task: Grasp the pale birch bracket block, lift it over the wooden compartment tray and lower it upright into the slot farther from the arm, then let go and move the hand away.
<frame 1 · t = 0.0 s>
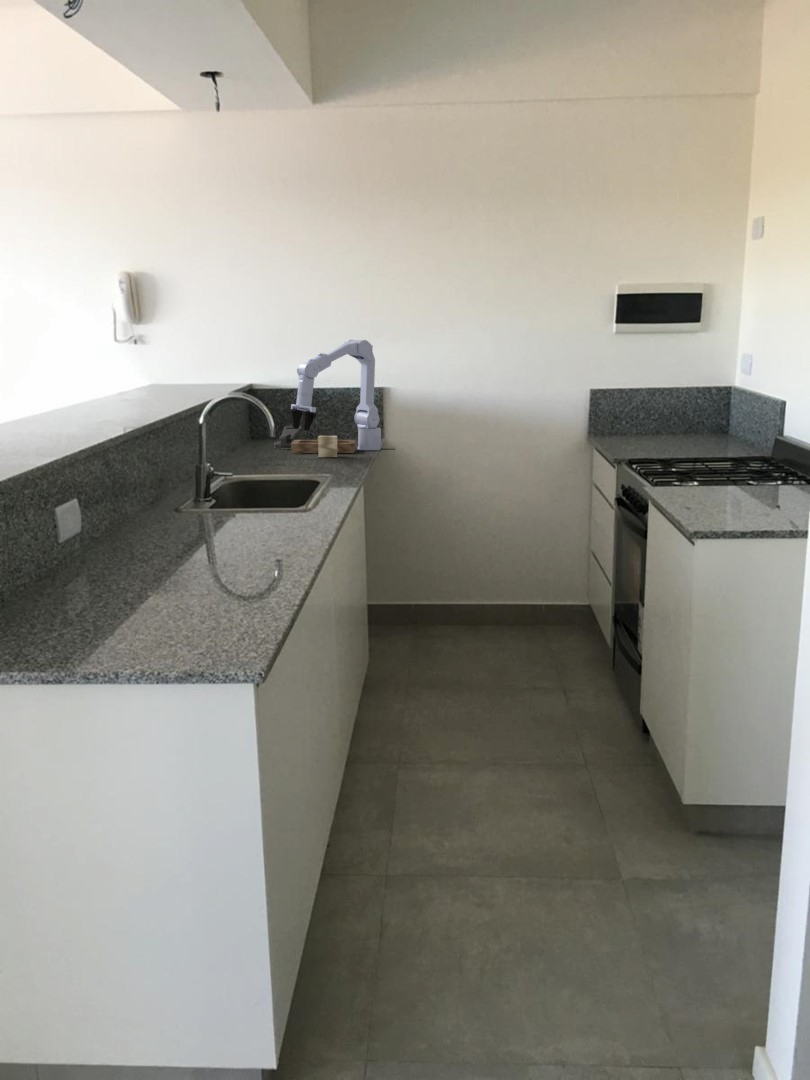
hand: (300, 429, 351), 11 cm above the worktop, tool pointing down, fingers open, 7 cm apart
wooden compartment tray: (323, 451, 366), on the worktop
dark grey angled stand: (288, 445, 385), on the worktop
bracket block: (328, 456, 354), on the worktop
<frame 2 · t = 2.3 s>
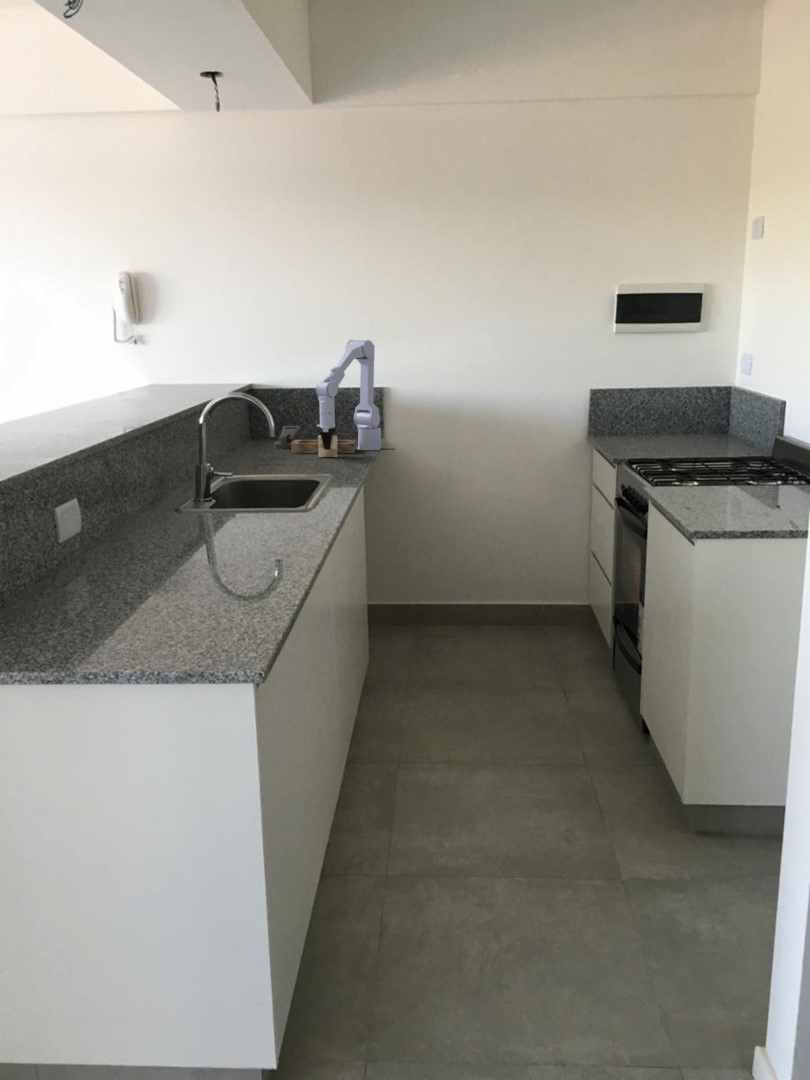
hand: (327, 448, 353), 3 cm above the worktop, tool pointing down, fingers closed on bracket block, 4 cm apart
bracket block: (328, 456, 354), on the worktop, touching gripper
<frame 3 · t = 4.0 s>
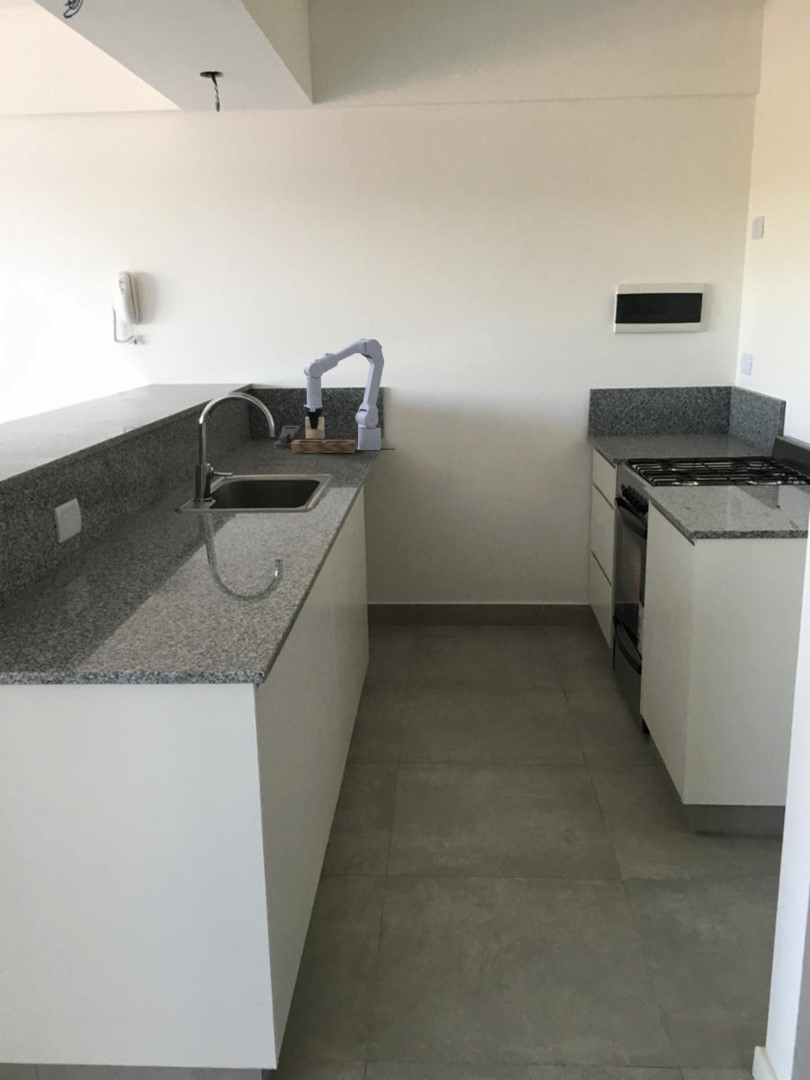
hand: (314, 428, 360), 10 cm above the worktop, tool pointing down, fingers closed on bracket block, 4 cm apart
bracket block: (315, 437, 361), point 6 cm above the worktop, touching gripper
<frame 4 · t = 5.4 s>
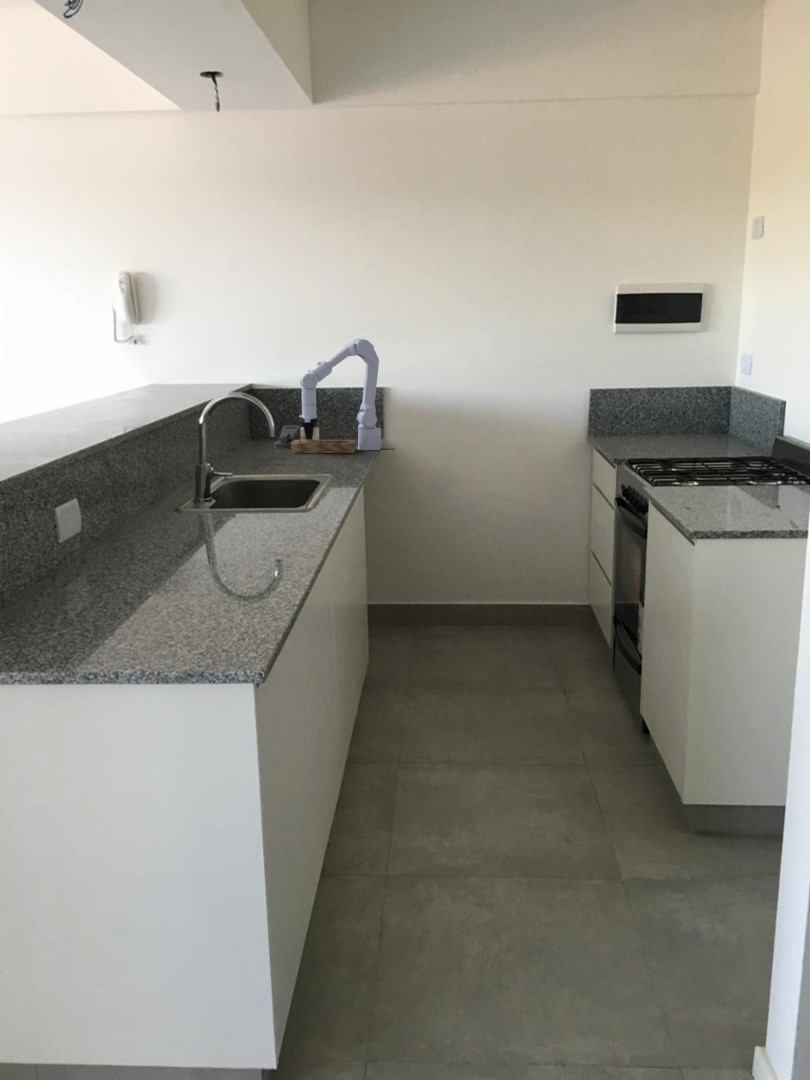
hand: (309, 438, 365), 5 cm above the worktop, tool pointing down, fingers closed on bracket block, 4 cm apart
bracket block: (310, 447, 366), point 1 cm above the worktop, touching gripper
when the fingers open (5 cm above the worktop, at t = 6.0 s): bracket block stays where it is, resting on wooden compartment tray.
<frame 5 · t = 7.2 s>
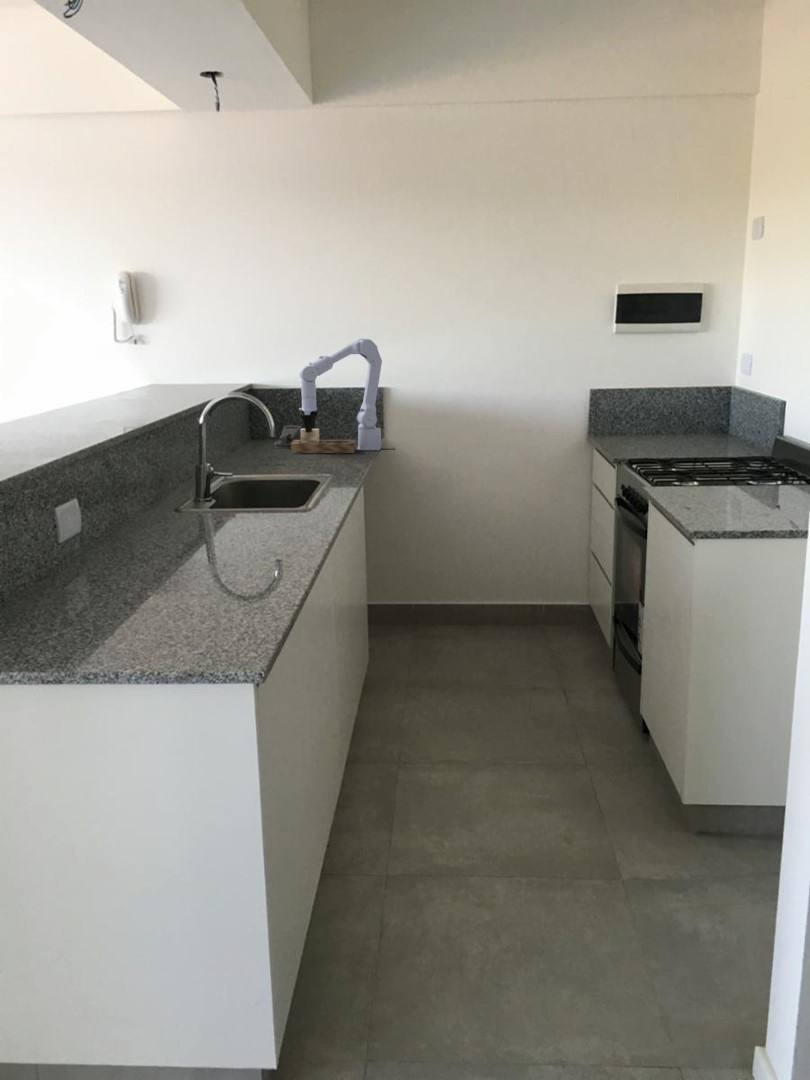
hand: (309, 431, 364), 8 cm above the worktop, tool pointing down, fingers open, 7 cm apart
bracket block: (310, 449, 366), point 1 cm above the worktop, touching wooden compartment tray
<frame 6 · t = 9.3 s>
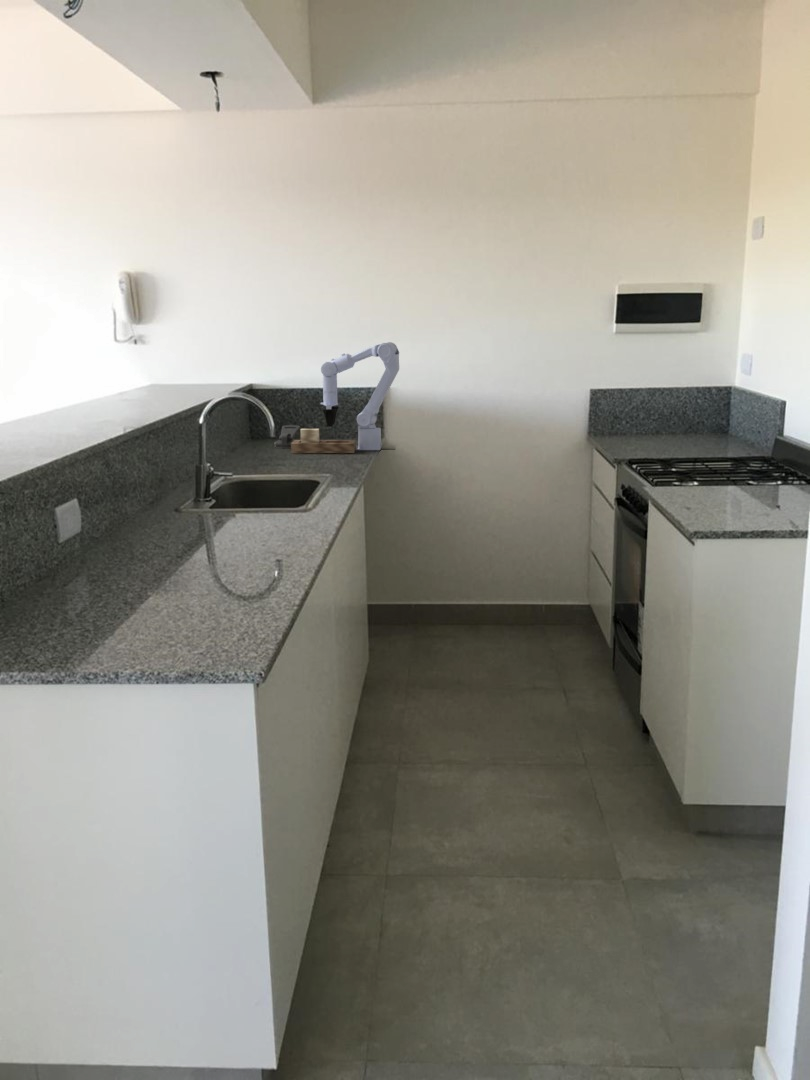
hand: (330, 425, 374), 9 cm above the worktop, tool pointing down, fingers open, 7 cm apart
at the end: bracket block 0.0 cm from the target spot on the wooden compartment tray, point 1.0 cm above the wooden compartment tray's base; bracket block tilted 0°; the gripper is holding nothing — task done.
